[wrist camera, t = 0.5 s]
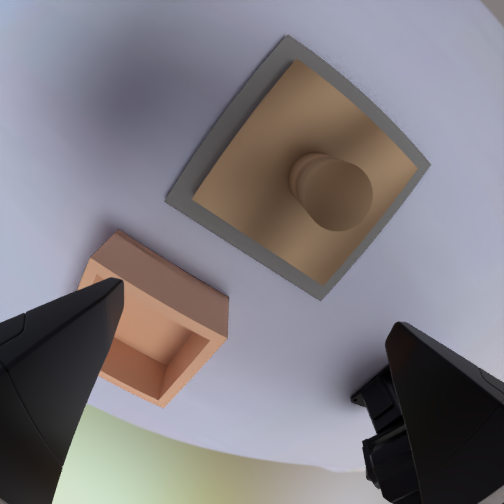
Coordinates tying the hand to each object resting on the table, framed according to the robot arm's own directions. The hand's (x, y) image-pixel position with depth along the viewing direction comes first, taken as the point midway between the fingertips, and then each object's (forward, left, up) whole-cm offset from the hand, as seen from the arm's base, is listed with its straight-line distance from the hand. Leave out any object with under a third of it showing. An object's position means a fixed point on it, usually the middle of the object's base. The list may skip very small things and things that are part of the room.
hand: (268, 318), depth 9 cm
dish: (+2, +12, -13) cm, 17 cm away
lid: (-2, -4, -12) cm, 13 cm away
